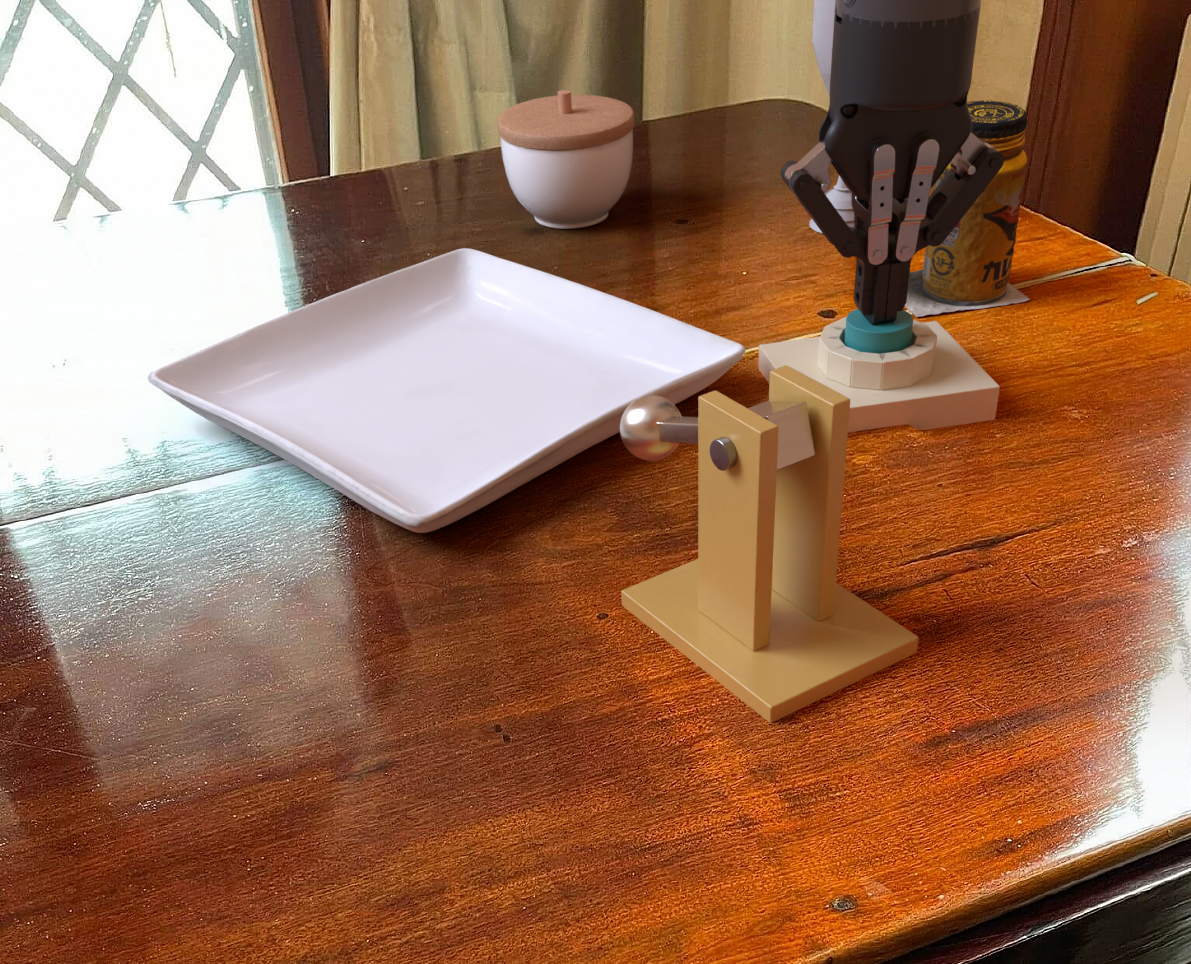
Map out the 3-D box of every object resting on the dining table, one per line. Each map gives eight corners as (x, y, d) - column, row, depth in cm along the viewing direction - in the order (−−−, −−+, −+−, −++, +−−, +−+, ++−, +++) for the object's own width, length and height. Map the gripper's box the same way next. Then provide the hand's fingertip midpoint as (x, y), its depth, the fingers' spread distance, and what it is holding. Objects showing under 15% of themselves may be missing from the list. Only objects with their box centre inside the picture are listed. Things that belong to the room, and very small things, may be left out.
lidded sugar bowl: (651, 229, 112) (648, 103, 105) (519, 247, 110) (509, 120, 104) (619, 186, 120) (614, 66, 113) (495, 202, 118) (484, 81, 112)
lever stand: (621, 614, 72) (611, 379, 63) (759, 556, 75) (767, 325, 67) (769, 733, 64) (781, 483, 56) (916, 662, 68) (948, 416, 59)
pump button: (896, 329, 88) (899, 301, 87) (920, 355, 85) (923, 327, 84) (835, 337, 87) (837, 310, 86) (857, 364, 84) (859, 336, 83)
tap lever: (616, 467, 72) (601, 405, 71) (666, 448, 73) (653, 387, 72) (770, 483, 61) (756, 410, 60) (826, 461, 62) (814, 389, 61)
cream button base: (932, 352, 93) (939, 293, 90) (995, 420, 85) (1004, 357, 83) (757, 376, 91) (759, 317, 89) (805, 447, 84) (809, 385, 81)
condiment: (1030, 302, 98) (1059, 119, 90) (916, 319, 97) (935, 135, 89) (984, 265, 103) (1008, 88, 95) (876, 280, 102) (891, 103, 94)
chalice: (834, 247, 107) (851, -20, 95) (777, 223, 111) (787, -35, 99) (906, 224, 110) (932, -38, 98) (848, 201, 114) (866, -52, 102)
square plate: (152, 426, 90) (136, 368, 88) (471, 292, 104) (465, 239, 101) (423, 577, 75) (413, 513, 73) (753, 397, 89) (755, 338, 87)
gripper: (997, -30, 77) (957, 282, 89) (765, -8, 75) (754, 307, 87) (1058, 1, 71) (1006, 329, 83) (809, 26, 70) (791, 358, 81)
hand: (877, 318), depth 85 cm, fingers closed
